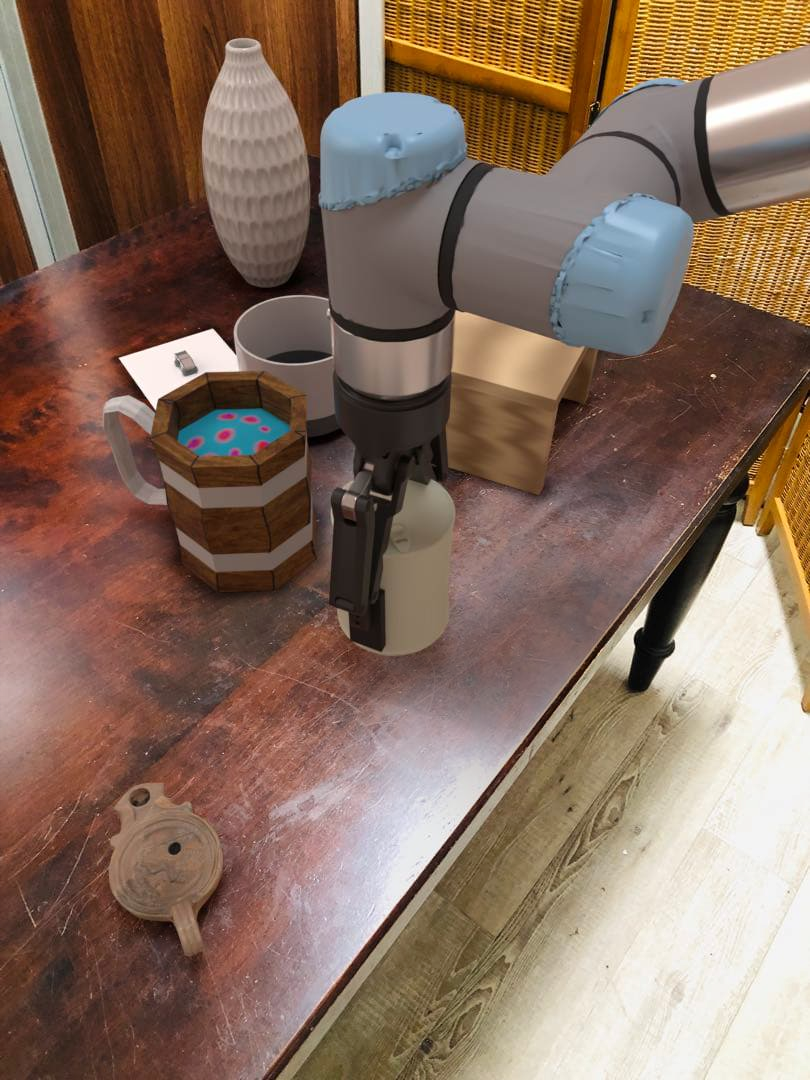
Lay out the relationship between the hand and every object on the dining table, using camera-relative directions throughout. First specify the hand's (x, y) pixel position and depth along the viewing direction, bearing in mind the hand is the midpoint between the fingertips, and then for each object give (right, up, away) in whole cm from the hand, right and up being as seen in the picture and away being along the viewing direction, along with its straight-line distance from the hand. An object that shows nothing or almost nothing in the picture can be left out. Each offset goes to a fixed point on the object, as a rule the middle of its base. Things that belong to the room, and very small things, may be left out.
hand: (393, 599), depth 71 cm
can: (0, -1, +1) cm, 2 cm away
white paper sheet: (-24, +25, +31) cm, 47 cm away
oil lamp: (-15, -19, -10) cm, 26 cm away
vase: (-17, +40, +46) cm, 63 cm away
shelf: (+11, +18, +25) cm, 33 cm away
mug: (-17, +5, +13) cm, 22 cm away
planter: (-10, +19, +26) cm, 34 cm away
